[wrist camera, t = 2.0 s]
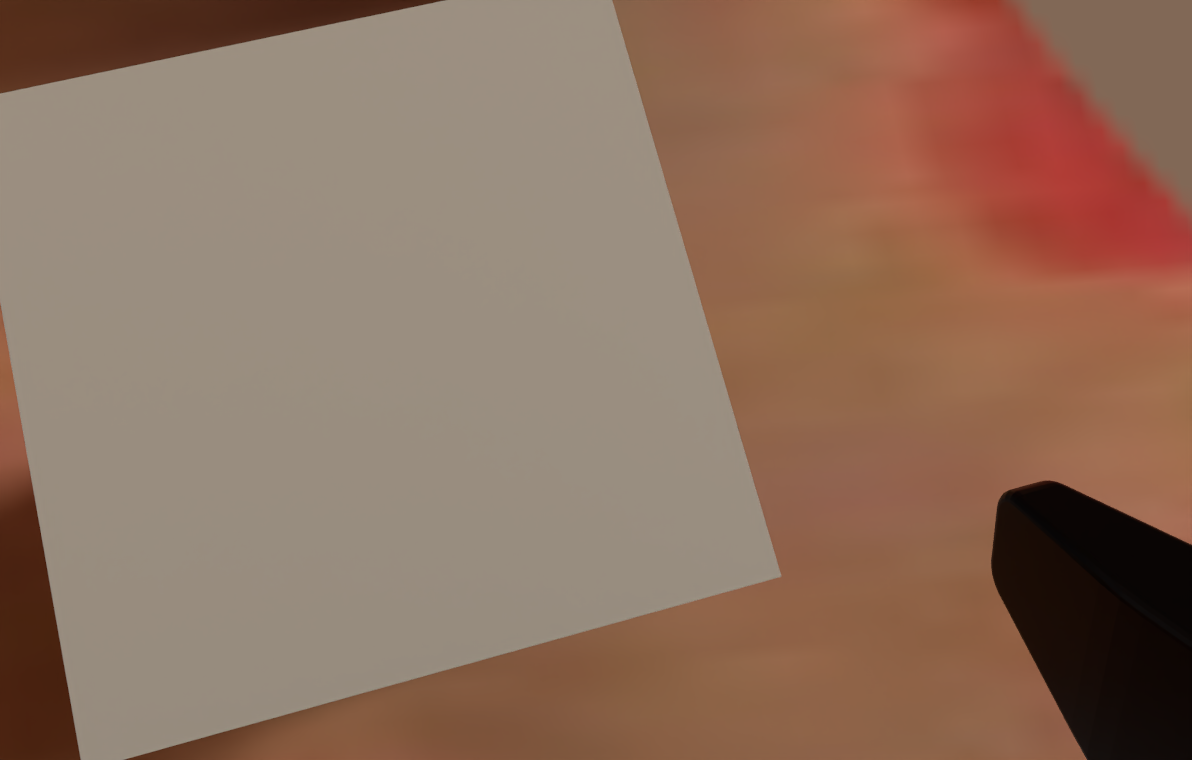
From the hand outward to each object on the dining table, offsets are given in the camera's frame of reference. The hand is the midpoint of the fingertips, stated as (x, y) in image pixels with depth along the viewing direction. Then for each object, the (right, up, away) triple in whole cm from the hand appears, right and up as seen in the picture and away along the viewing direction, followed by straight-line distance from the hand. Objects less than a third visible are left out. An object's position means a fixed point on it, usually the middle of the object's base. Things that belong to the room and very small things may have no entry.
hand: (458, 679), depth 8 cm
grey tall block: (-1, +1, +10) cm, 10 cm away
